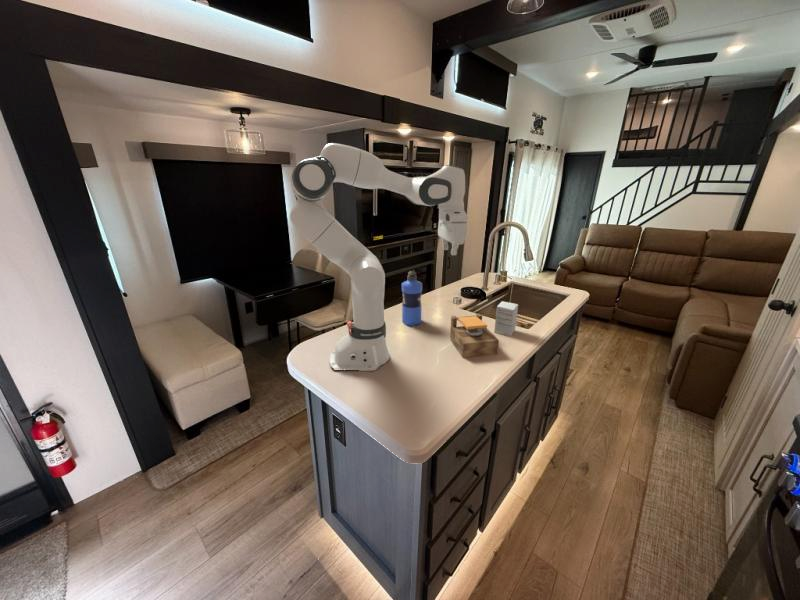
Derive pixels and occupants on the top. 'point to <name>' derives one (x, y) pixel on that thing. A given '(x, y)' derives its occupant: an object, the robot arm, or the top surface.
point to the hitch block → (472, 340)
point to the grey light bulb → (474, 332)
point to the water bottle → (411, 300)
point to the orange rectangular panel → (471, 322)
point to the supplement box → (506, 318)
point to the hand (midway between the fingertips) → (449, 252)
